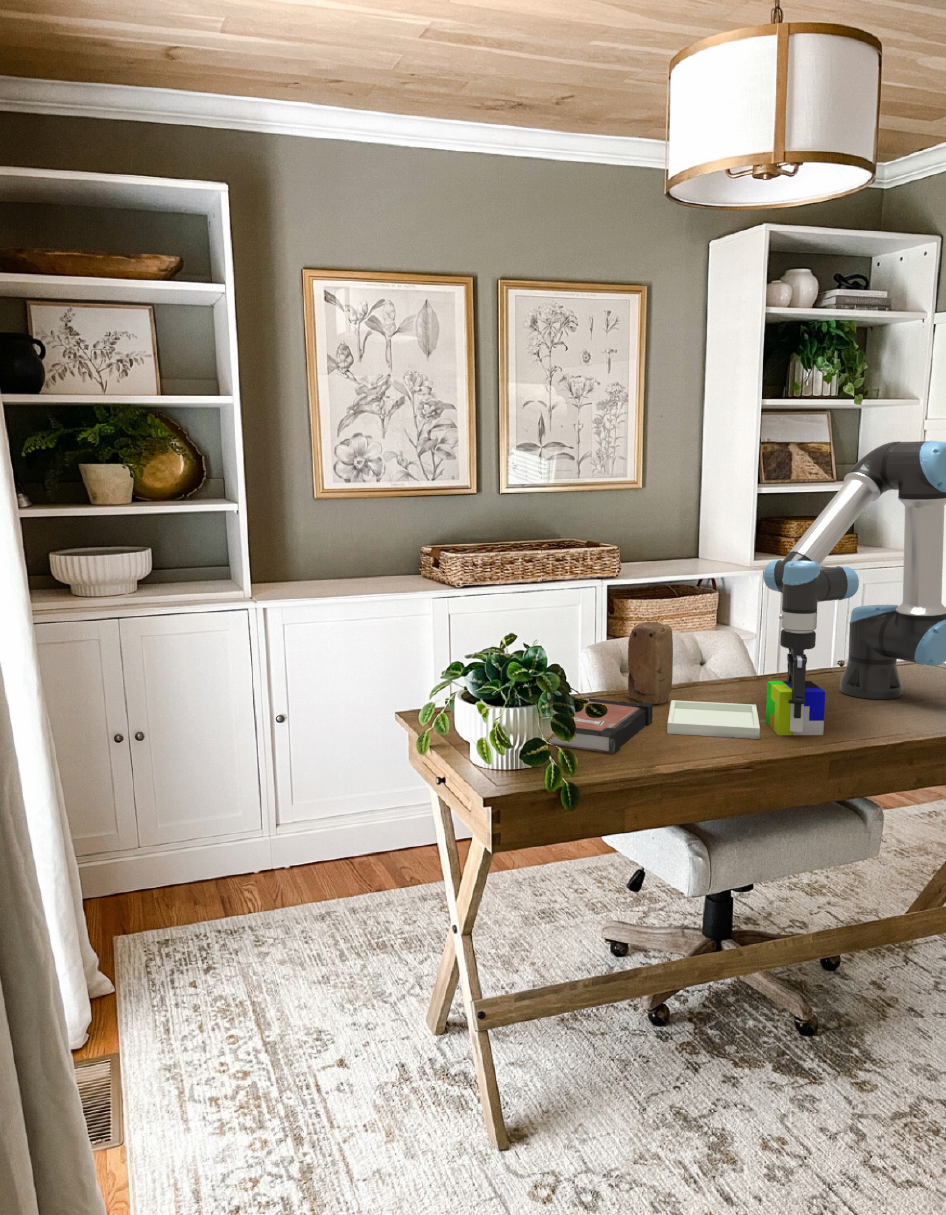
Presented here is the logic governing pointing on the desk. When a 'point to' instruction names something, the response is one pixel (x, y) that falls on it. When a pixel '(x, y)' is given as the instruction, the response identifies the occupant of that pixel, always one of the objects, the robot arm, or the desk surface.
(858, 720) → the desk surface
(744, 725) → the tray
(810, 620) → the robot arm
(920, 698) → the desk surface
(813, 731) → the puzzle toy
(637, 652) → the block
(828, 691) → the desk surface
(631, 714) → the book
